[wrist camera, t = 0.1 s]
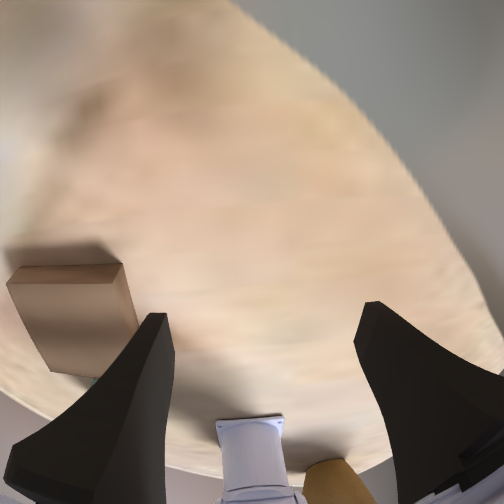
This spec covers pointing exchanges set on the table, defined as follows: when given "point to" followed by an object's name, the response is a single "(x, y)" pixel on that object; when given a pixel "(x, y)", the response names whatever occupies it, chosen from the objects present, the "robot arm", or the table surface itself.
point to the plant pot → (334, 484)
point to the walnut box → (75, 314)
